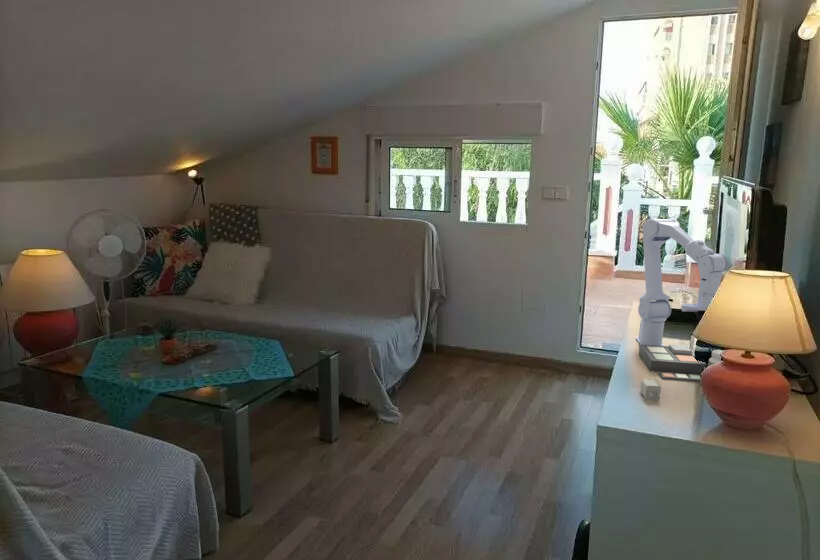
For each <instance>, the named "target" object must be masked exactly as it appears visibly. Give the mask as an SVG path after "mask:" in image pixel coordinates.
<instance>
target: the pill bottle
mask: <svg viewBox="0 0 820 560" xmlns="http://www.w3.org/2000/svg"><path fill="white" fill-rule="evenodd" d="M722 351H724V350H721V349H713V350H712V351H711V357H710V358H709V359H708V363H707V366H708V365H711V364H713V363H716V362H719V361H721V356H720V353H721V352H722Z"/></svg>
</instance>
